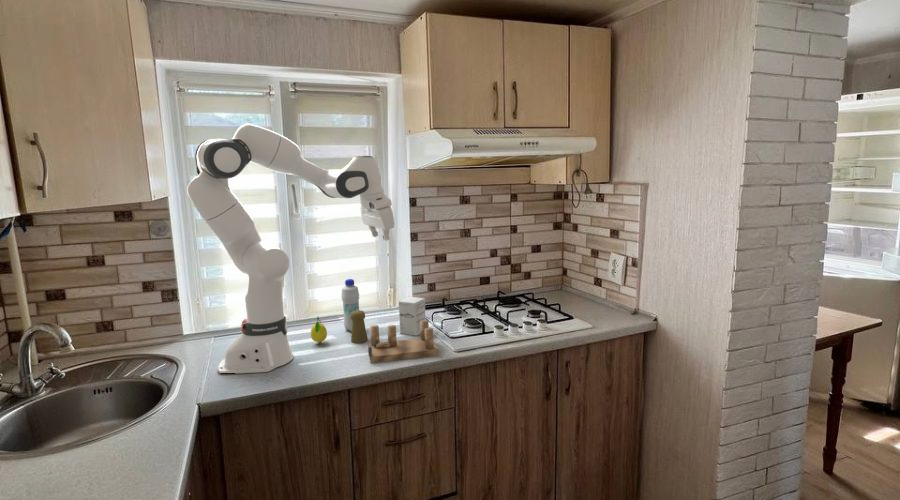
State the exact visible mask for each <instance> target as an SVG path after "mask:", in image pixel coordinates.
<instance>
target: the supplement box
mask: <svg viewBox="0 0 900 500" xmlns="http://www.w3.org/2000/svg"><path fill="white" fill-rule="evenodd" d="M398 313H399V315H398V316H399V333H400V334H404V335H409V336H415V337H417V336H418V335H421V326H420V321H421V320H427V319H426V298H424V297H415V296H406V297H405V298H402V299H401V300H399V301H398Z"/></svg>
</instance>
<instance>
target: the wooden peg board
mask: <svg viewBox="0 0 900 500" xmlns="http://www.w3.org/2000/svg"><path fill="white" fill-rule="evenodd" d="M429 325H430V324H429V320H428V319H426V320H421V321H420V326H421V333H420V338H409V339H401V340H397V345H396V346H394V347H390V346H389V347H380V348H375V347H374V340H376V339H377V340H378V343H382V342H383V341H382V342H381V341H380V327H379V325H378V324H377V325H376V324H374V325H370V327H369V331H370V343H367V353H368V357H369V363H370V364H374V363H382V362H391V361H398V360H399V361H401V360H406V359H414V358H415V359H416V358H423V357H430V356H431V357H432V356H433V357H434V356H438V355H439V347H438V346H437V344H436V342H435V339H434V328H433V327H430V326H429Z"/></svg>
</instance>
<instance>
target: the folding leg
mask: <svg viewBox="0 0 900 500" xmlns="http://www.w3.org/2000/svg"><path fill="white" fill-rule="evenodd" d="M386 328H387V340H388V341H384V342H383V341H382V343H381V342H380V343H378V340H377V339H376V340H374V347H375V348H380V347H389V346H390V347H394V346H396V345H397V341H398V340H397V339H398V338H397V326H396V325H394V324H389V325H388V326H386Z"/></svg>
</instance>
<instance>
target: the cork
mask: <svg viewBox="0 0 900 500" xmlns="http://www.w3.org/2000/svg"><path fill="white" fill-rule="evenodd" d="M350 317H351V320H352V332H351V335H350V336H351V337H350V342H351V343H352V344H357V345H358V344H359V345H360V344H364V343H366V342H368V341H369V339H368V334H367V330H366V323H365V319H366V312H365V311H364V310H361V309H359V310H356V311H353V312H352V313H351V315H350Z"/></svg>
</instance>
